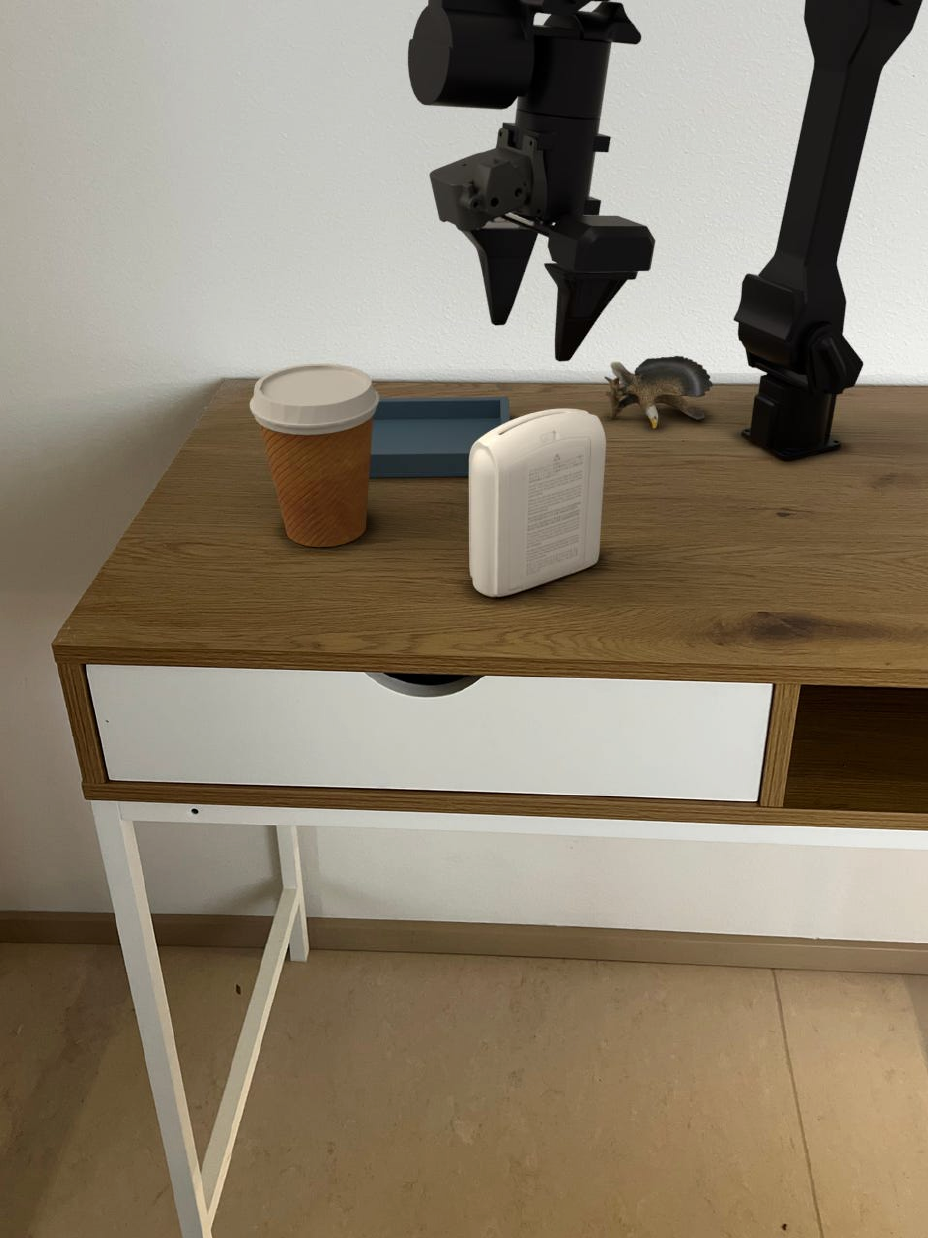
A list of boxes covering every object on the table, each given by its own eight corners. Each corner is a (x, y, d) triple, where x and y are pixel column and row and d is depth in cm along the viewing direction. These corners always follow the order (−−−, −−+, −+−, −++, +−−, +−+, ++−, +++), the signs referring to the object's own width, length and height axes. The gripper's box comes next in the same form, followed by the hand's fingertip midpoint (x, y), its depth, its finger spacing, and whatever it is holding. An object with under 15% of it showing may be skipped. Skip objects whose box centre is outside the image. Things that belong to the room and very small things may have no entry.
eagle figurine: (621, 430, 103) (719, 408, 102) (604, 353, 103) (702, 330, 102) (612, 443, 110) (704, 422, 110) (596, 371, 110) (688, 350, 110)
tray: (508, 418, 108) (508, 396, 107) (512, 475, 98) (513, 452, 97) (323, 420, 109) (321, 398, 107) (307, 478, 98) (305, 454, 97)
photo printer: (572, 542, 88) (578, 389, 81) (608, 565, 85) (617, 408, 78) (460, 581, 83) (457, 422, 76) (494, 607, 80) (493, 443, 73)
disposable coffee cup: (282, 568, 85) (264, 417, 79) (253, 513, 93) (235, 371, 86) (402, 544, 88) (395, 396, 81) (365, 493, 95) (356, 354, 89)
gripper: (391, 89, 80) (377, 311, 88) (527, 128, 66) (497, 389, 74) (526, 97, 85) (502, 307, 93) (679, 136, 71) (636, 379, 79)
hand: (529, 341), depth 85 cm, fingers open, 9 cm apart
